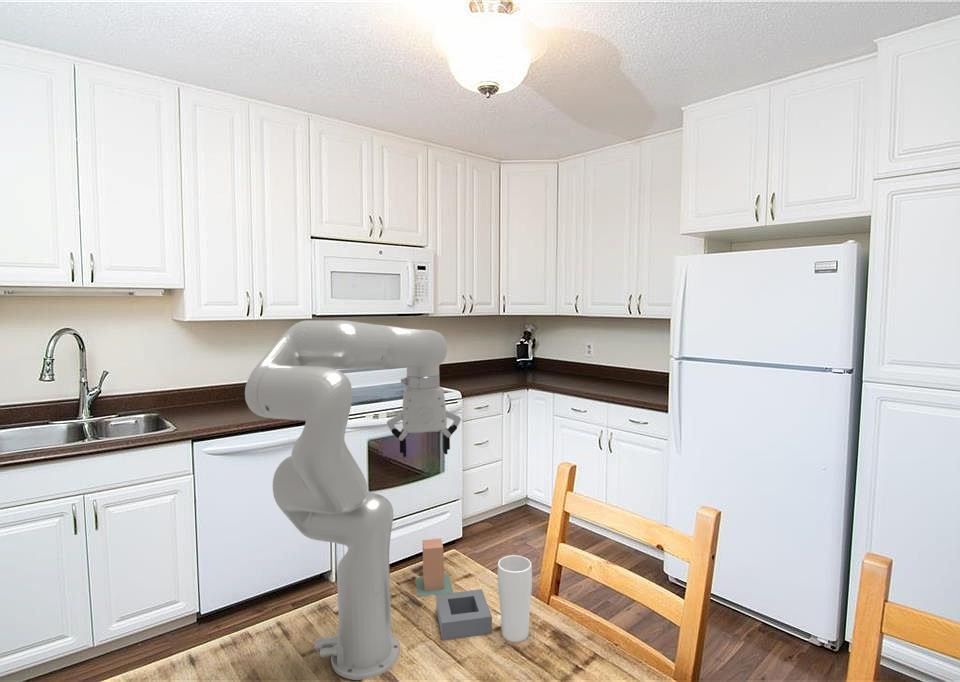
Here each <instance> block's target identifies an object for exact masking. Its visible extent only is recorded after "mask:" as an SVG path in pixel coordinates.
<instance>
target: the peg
mask: <svg viewBox="0 0 960 682" xmlns="http://www.w3.org/2000/svg"><path fill="white" fill-rule="evenodd" d="M444 566H445V565H444V545H443V541H442V538H433V539H424V540H422V572H423V573H422V574H423V575H422V577H423V582H424V589H425V591H432V590H441V589H444V575H445V574H444V572H445V571H444V570H445V569H444Z"/></svg>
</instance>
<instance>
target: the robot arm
mask: <svg viewBox="0 0 960 682" xmlns="http://www.w3.org/2000/svg"><path fill="white" fill-rule="evenodd" d="M447 353H448V344H447V342H446V338H445V336H444V335H442V333H440V332H439V331H435V330H433V329H417V328H406V327H401V326H400V327H399V326H392V325H383V324H374V323H367V322H360V321H359V322H358V321H351V320H342V319H340V320H338V319H337V320H335V319H334V320H327V319H326V320H321V319H320V320H319V319H318V320H302V321H299V322H296V323H295V324H293V325H292V326H291V327H289V328H288V329H287V330H286V331H285V332H284V333H283V334H282V335H281V336H280V337H279V338H278V339H277V340H276V342H275V343H274V344H273V345H272V347H271V348H270V349H269V351H268V352H267V353H266V354H265V355H264V356H263V358H262V359H261V360H260V361H259V362H258V364H257V365H255V367H254V368H253V370H252V371H251V373H250V374H249V376H248V378H247V381H246V384H245V389H244V397H245V403H246V405H247V407H248V409H249V410H250V411H251V412H252V413H253V414H255V415H257V416H260V417H262V418H265V419H276V420H277V419H279V420H292V421H303V422H305V424H304V427H303V429H302V431H301V434H300V436H299V437H298V438H297V440H296V441H295V443H294V444H293V447H292V450H291V455H290V456H288V457H286V458H285V459H283V460H282V461H281V462H280V464H278V466H277V468H276V470H275V472H274V474H273V478H272V494H273V498H274V501H275V503H276V505H277V506H278V508H279V509H280V511H281V512H282V513H283V514H284V516H286V518H287V519H288V520H289V521H290V522H291V523H292V524H293V526H294V527H295V528H296V529H297V531H299V532H300V534H302V535H303V536H304V537H306V538H308V539H311V540H315V541H320V542H327V543H334V544H338V545H343V546H346V547H347V551H346V553H345V554H344V555H343V557H342V558H341V559H340V561H339V562H338V565H337V569H336V584H337V585H336V587H337V608H338V609H337V611H338V630H337V634H332V636H331V637H326V638H325V637H322V638H321V637H320V638H315V639H314V651H315V652H316V651H319V655H320V658H324V657H328V656H331V657H330V658H331V659H330V660H331V661H330V663H331V667H332V669H333V671H334V673H335V674H337V675H339V676H341V677H342V678H345V679H347V680H355V681H362V680H365V679H369V678H373V677H377V676H380V675H382V674H383V673H385V672H386V671H388V670H389V669H391V668H392V667H393V666H394V665H395V664H396V663H397V662H398V659H399V658H400V652H401V647H400V642H399V640H398V639H397V638H396V636H394V635H393V634H392V616H391V613H392V612H391V583H390V582H391V578H390V575H391V574H390V546H391V545H390V544H391V537H392V536H391V535H392V529H393V522H394V509H393V505H392V503H391V502H390V500H389V499H388V498H387V497H385V496H383V495H382V494H380V493H377V492H372V491H368V485H367V484H368V483H367V481H366V477H365V476H364V473H363V471H362V469H361V467H360V466H359V464H358V463H357V462H356V459H355V458H354V456H353V455H352V453H351V451H350V449H349V448H348V446H347V444H346V442H345V435H346V430H347V426H348V421H349V416H350V412H351V408H352V402H353V389H352V383H351V381H350V379H349V378H348V377H347V375H346V374H344V372H342V371H341V370H343V371H345V370H347V371H350V370H354V371H355V370H390V369H391V370H392V369H403V368H404V369H405V368H406V377H403V378H400V385H404V386H406V388H404V390H403V391H404V392H403V399H402V412H401V413H399V414H398V415H397V414H396V415H395V416H394V417H392V418H391V419H388V420H387V422H386V426H387V427H388V429H389V430H390V432H391V433H392V435H394V436H395V437H396V438H397V439H398V440H399V454H402V457H403V458H406V457H407V439H406V437H407V435H408V434H420V433H436V432H442V434H443V435H442V451H443V453H444V455H448V450H451V442H450V441H451V440H450V439H451V437H452V435H453V434H454V433H455V431H457V429H458V427H459V425H460V424H461V421H462V418H461V417H460V416H459V415H457V414H454V413H452V412H450V411H448V410H447V409H446V398H445V392H444V388H443V387H441V386H440V365H442V363H444V361H445V359H446V357H447ZM447 418H448V419H450V420H452V421H453V422H452V424H450V426H449V427H448V428H447V423H448V421H447ZM400 421H402V429H401V430H399V429H397V427H396V425H395V424H397V423H399V422H400Z"/></svg>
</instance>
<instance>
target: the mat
mask: <svg viewBox="0 0 960 682" xmlns="http://www.w3.org/2000/svg"><path fill="white" fill-rule="evenodd" d="M415 587H416V593H417V594H416V595H417V597H418V598H419V597H429V596H436V595H438V594H446V593H454V591H453V587H452V583H451V577H450V575H449V573H446V574H444V589H441V590H432V591H425V589H424V582H423V576H420V577H415Z"/></svg>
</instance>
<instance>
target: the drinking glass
mask: <svg viewBox="0 0 960 682" xmlns="http://www.w3.org/2000/svg"><path fill="white" fill-rule="evenodd" d="M532 565H533V564H532V562H531V561H530V559H529V558H527V557H524V556H523V555H522V556H521V555H517V554H516V555H515V554H514V555H506V556H503V557H502V558H500V559H499V560H498V563H497V589H498V590H497V591H498V599H499V610H500V622H501V634H502V638H503V639H505V640H506V641H508V642H511V643H512V642H513V643H520V642H523V641H525V640H527V638H528V637H529V634H530V629H529V628H530V627H529V625H530V613H531V612H530V610H531V600H532V588H533V567H532Z"/></svg>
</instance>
